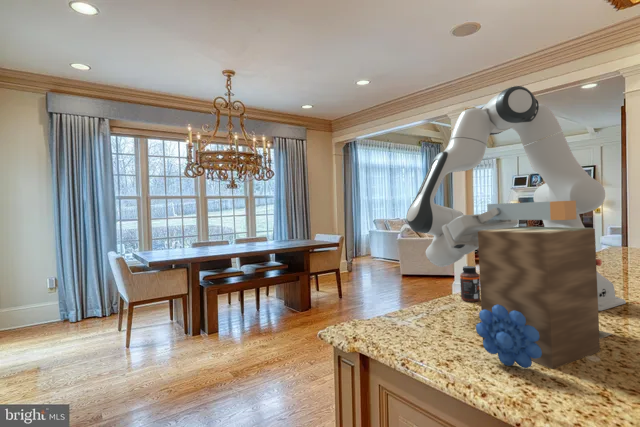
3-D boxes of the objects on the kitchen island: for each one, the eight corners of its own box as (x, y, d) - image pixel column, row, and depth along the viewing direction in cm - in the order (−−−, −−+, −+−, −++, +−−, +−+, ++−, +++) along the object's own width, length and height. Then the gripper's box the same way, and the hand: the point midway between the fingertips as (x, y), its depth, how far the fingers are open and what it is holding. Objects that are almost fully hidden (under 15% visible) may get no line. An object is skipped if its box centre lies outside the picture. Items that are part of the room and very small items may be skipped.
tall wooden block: (482, 342, 82) (477, 230, 82) (527, 329, 89) (523, 226, 89) (552, 368, 68) (546, 232, 68) (600, 351, 74) (594, 227, 74)
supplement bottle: (482, 302, 116) (480, 268, 116) (463, 302, 117) (461, 268, 117) (477, 298, 122) (476, 265, 122) (459, 297, 123) (458, 265, 123)
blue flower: (471, 367, 70) (468, 307, 70) (480, 355, 75) (477, 299, 75) (540, 382, 63) (537, 315, 63) (544, 367, 68) (541, 306, 68)
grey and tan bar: (487, 219, 91) (487, 204, 91) (498, 218, 93) (497, 203, 93) (565, 220, 74) (564, 200, 74) (576, 219, 76) (575, 200, 76)
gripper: (499, 242, 102) (538, 218, 92) (446, 247, 94) (483, 222, 83) (488, 223, 105) (526, 198, 94) (436, 227, 97) (471, 200, 86)
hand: (505, 209), depth 89 cm, fingers closed on grey and tan bar, 4 cm apart
